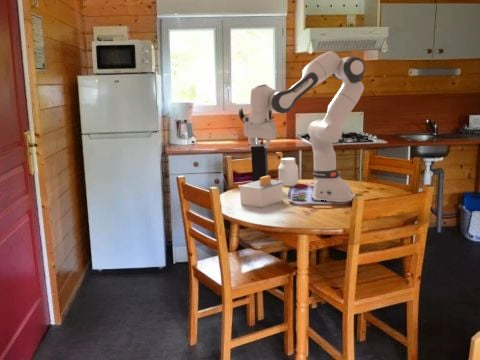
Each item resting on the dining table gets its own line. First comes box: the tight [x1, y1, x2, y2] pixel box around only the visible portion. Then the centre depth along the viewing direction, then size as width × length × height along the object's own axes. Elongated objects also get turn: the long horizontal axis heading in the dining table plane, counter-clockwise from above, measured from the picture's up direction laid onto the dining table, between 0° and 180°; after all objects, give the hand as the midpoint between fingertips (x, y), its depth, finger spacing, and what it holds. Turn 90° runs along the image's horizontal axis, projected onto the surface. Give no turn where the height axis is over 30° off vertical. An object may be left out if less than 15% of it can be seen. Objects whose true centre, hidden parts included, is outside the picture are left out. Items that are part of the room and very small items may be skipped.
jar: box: [277, 157, 300, 187], centre depth 278 cm, size 12×10×15 cm
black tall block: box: [250, 139, 269, 182], centre depth 269 cm, size 8×8×28 cm
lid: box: [242, 174, 282, 190], centre depth 237 cm, size 14×16×5 cm
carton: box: [238, 179, 284, 209], centre depth 239 cm, size 14×18×10 cm
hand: (259, 147), depth 233 cm, fingers open, 8 cm apart
